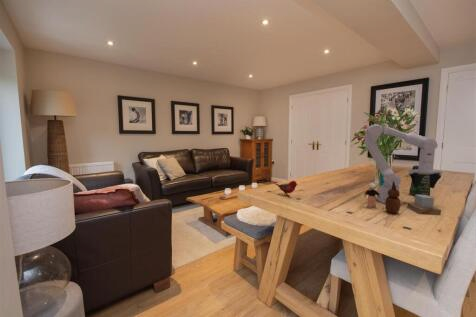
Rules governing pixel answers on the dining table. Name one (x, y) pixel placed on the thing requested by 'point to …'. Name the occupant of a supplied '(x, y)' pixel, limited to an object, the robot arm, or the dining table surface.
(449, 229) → the dining table surface
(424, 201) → the slate cube
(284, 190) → the decorative bird figurine
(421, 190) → the coffee jar
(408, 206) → the walnut block
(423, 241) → the dining table surface
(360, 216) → the dining table surface
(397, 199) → the wooden figurine
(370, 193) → the grandmother figurine
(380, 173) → the beverage can
